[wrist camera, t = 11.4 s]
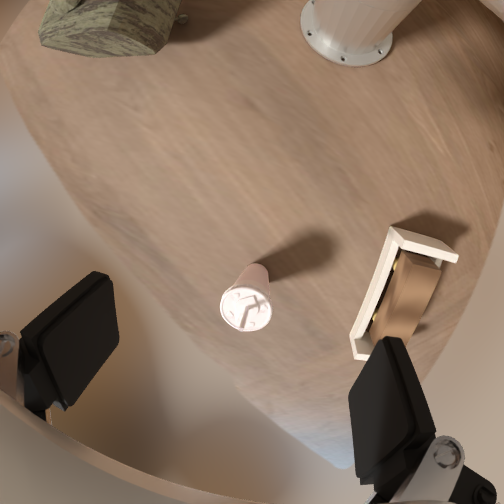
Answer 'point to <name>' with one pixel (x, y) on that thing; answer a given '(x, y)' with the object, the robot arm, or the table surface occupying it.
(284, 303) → the table surface
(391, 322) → the plank
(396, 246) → the frame
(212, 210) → the table surface
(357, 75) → the table surface
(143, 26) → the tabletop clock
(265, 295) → the smoothie
